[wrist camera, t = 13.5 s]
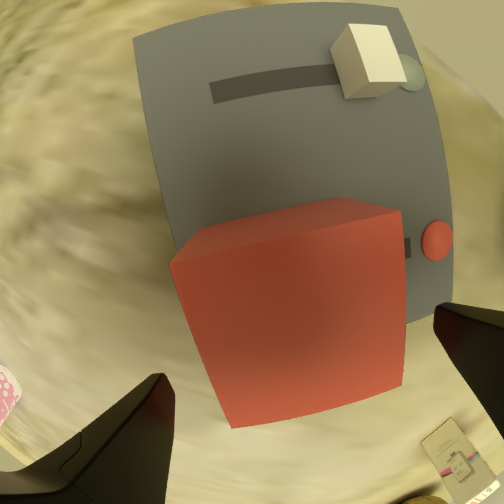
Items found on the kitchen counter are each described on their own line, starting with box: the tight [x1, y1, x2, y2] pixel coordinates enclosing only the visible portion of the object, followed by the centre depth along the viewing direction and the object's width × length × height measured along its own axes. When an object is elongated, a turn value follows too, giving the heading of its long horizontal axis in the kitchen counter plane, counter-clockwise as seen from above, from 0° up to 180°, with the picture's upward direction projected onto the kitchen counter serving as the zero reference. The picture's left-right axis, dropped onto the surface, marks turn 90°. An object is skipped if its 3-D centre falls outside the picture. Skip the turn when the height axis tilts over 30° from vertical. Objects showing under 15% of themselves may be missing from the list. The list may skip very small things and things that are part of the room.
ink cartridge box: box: [421, 418, 500, 504], centre depth 17 cm, size 9×5×15 cm, turn 45°
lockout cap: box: [168, 197, 406, 429], centre depth 12 cm, size 7×7×6 cm
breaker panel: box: [133, 2, 453, 324], centre depth 14 cm, size 16×20×3 cm
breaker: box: [330, 24, 407, 99], centre depth 10 cm, size 2×3×3 cm, turn 13°
